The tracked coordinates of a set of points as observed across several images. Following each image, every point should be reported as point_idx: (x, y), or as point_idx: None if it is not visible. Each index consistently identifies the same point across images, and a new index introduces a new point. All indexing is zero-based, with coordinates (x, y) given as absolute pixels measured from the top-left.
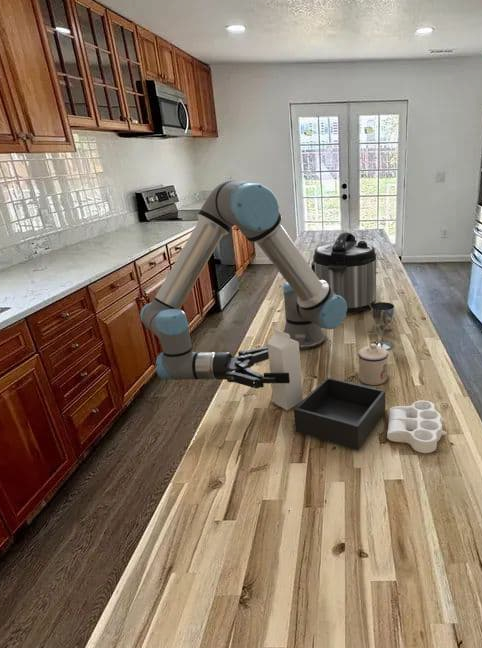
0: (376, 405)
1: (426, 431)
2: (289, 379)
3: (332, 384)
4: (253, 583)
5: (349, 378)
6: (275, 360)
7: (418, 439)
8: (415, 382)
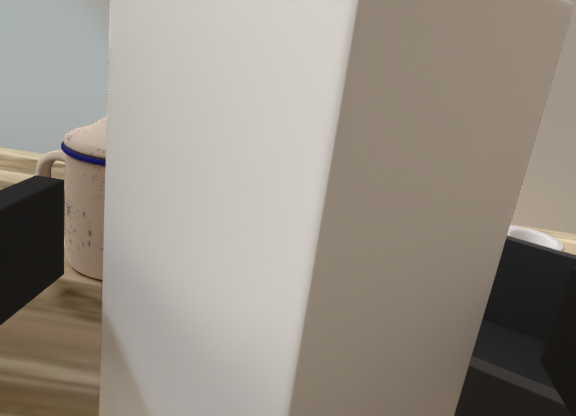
0: None
1: (511, 234)
2: (552, 336)
3: None
4: None
5: (76, 303)
6: (432, 250)
7: (558, 248)
8: None
